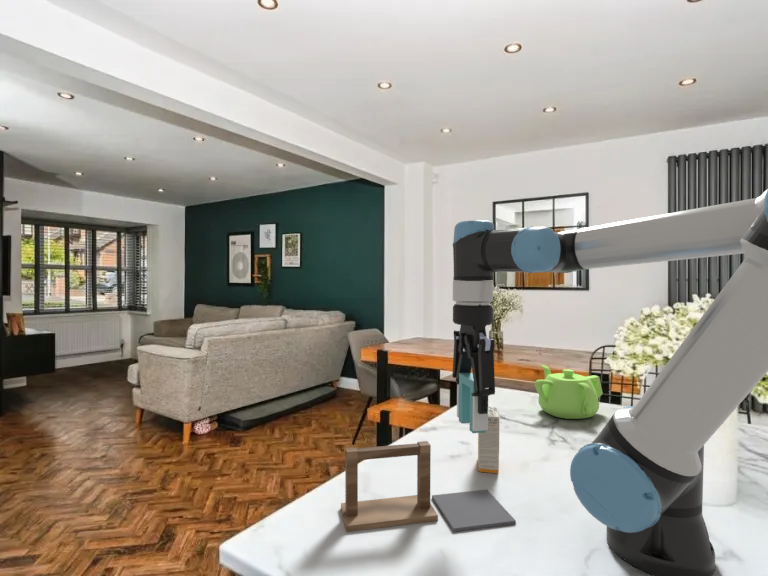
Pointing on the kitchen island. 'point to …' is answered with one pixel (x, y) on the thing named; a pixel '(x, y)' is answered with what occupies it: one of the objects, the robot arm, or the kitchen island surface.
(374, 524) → the stand
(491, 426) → the supplement box
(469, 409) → the teal u-shaped block
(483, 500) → the coaster
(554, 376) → the teapot
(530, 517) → the kitchen island surface
